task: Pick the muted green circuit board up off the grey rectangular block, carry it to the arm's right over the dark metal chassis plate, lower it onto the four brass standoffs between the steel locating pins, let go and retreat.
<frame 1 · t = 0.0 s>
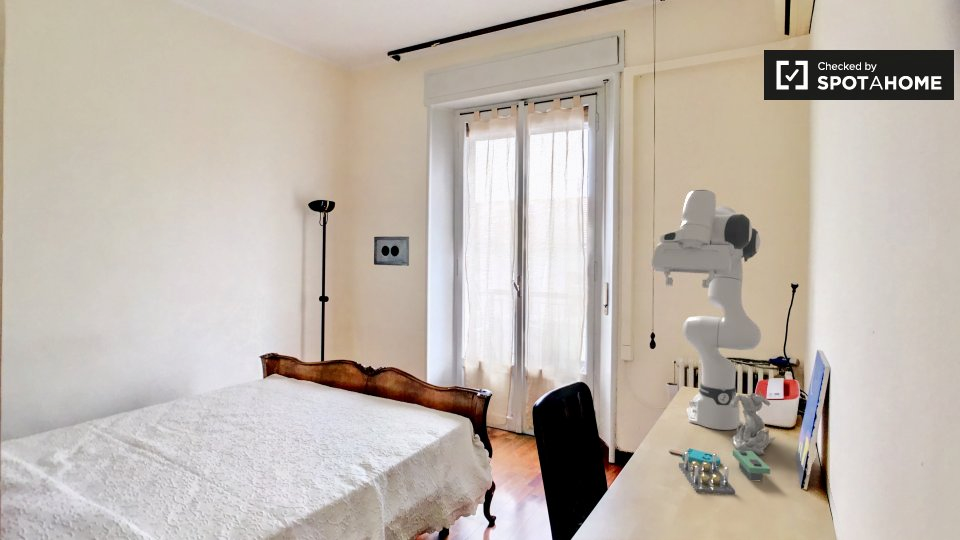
hand: (686, 285, 142), 54 cm above the table, tool tilted 30°, fingers open, 8 cm apart
toy: (693, 460, 161), on the table
board: (750, 464, 150), point 3 cm above the table, touching grey rectangular block
grey rectangular block: (750, 474, 150), on the table
chassis: (705, 479, 146), on the table
figurine: (751, 447, 170), on the table
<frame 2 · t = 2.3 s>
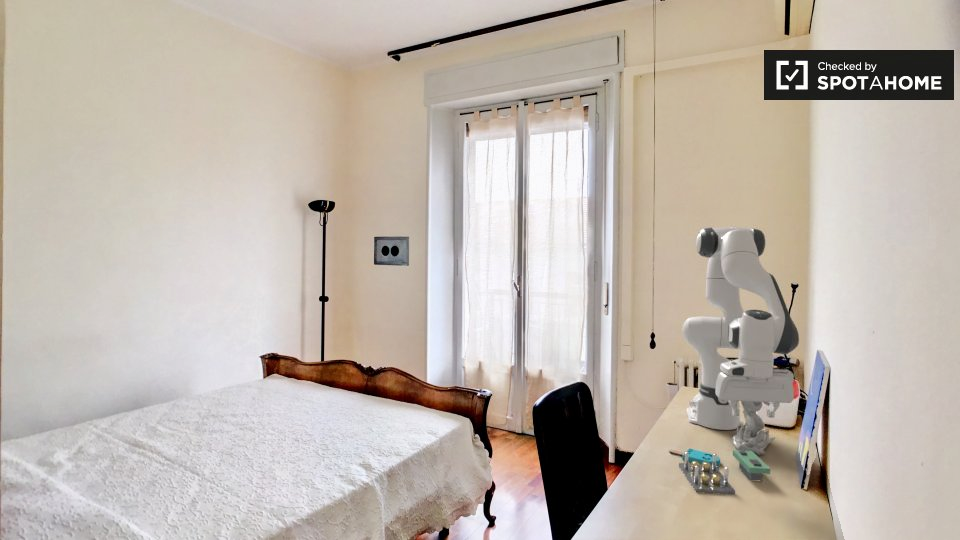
hand: (752, 416, 149), 17 cm above the table, tool pointing down, fingers open, 8 cm apart
nothing on the table moved.
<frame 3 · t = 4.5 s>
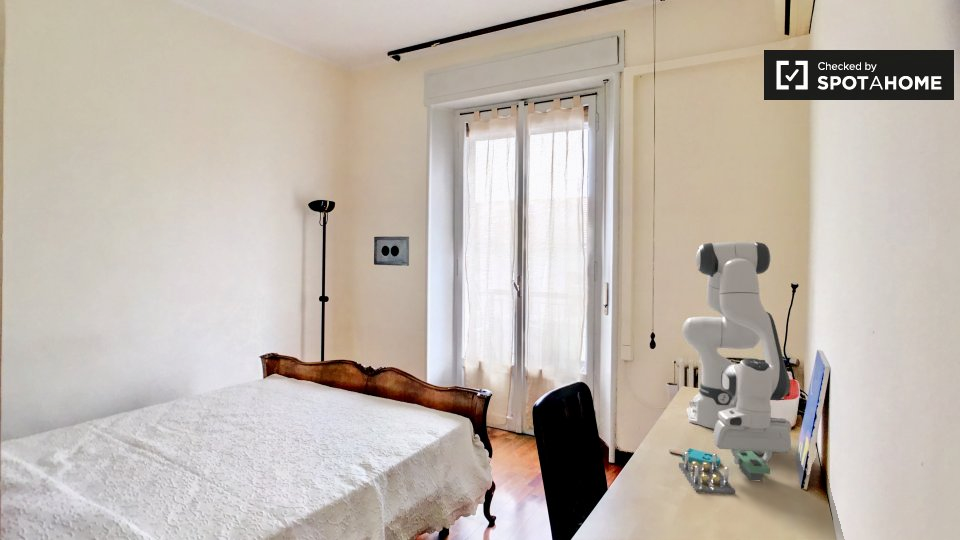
hand: (750, 464, 150), 3 cm above the table, tool pointing down, fingers closed on board, 5 cm apart
board: (750, 464, 150), point 3 cm above the table, touching grey rectangular block, gripper
everything else where it was.
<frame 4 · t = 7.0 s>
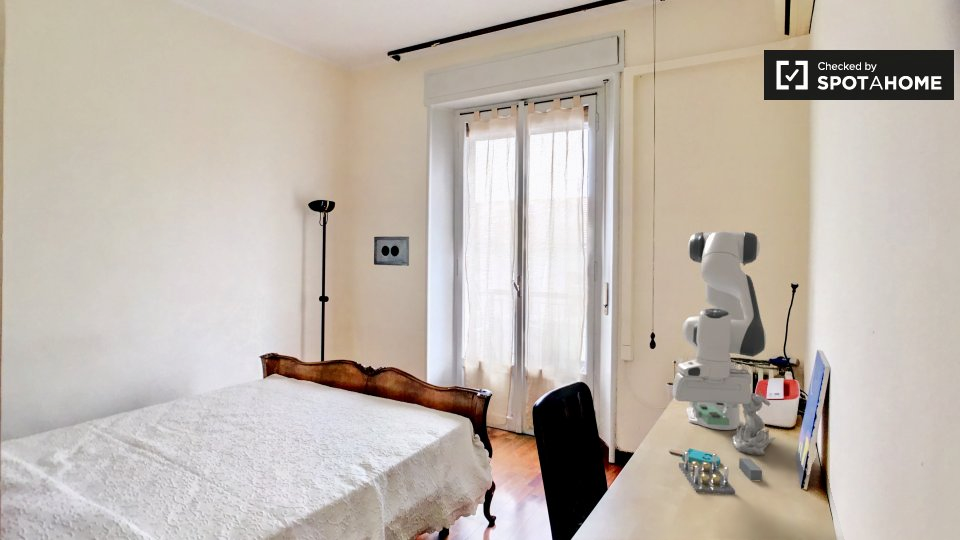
hand: (710, 417, 145), 18 cm above the table, tool pointing down, fingers closed on board, 5 cm apart
board: (710, 417, 145), point 18 cm above the table, touching gripper
everything else where it was.
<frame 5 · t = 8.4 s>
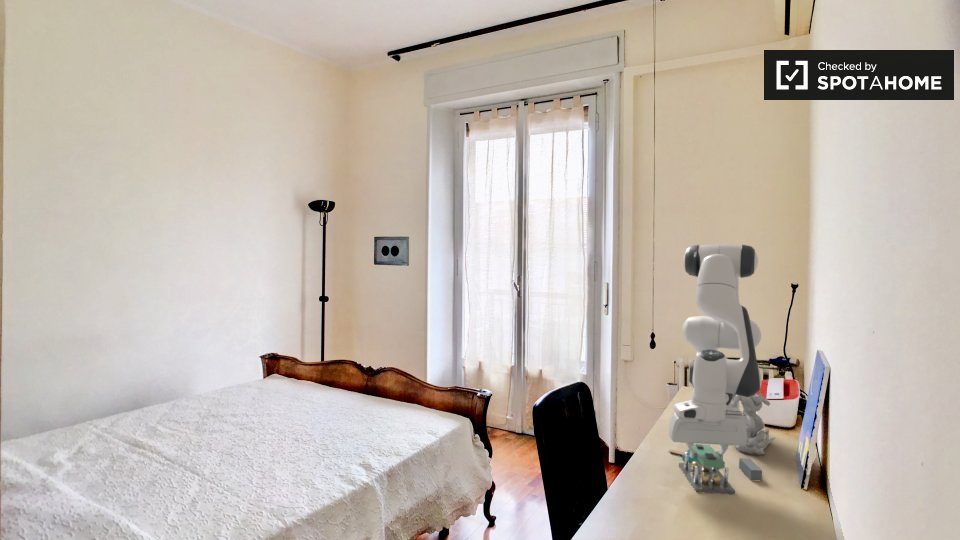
hand: (706, 458, 146), 6 cm above the table, tool pointing down, fingers closed on board, 5 cm apart
board: (706, 458, 146), point 6 cm above the table, touching gripper
everything else where it was.
when the fingers open (4 cm above the table, at t = 9.6 s): board stays where it is, resting on chassis.
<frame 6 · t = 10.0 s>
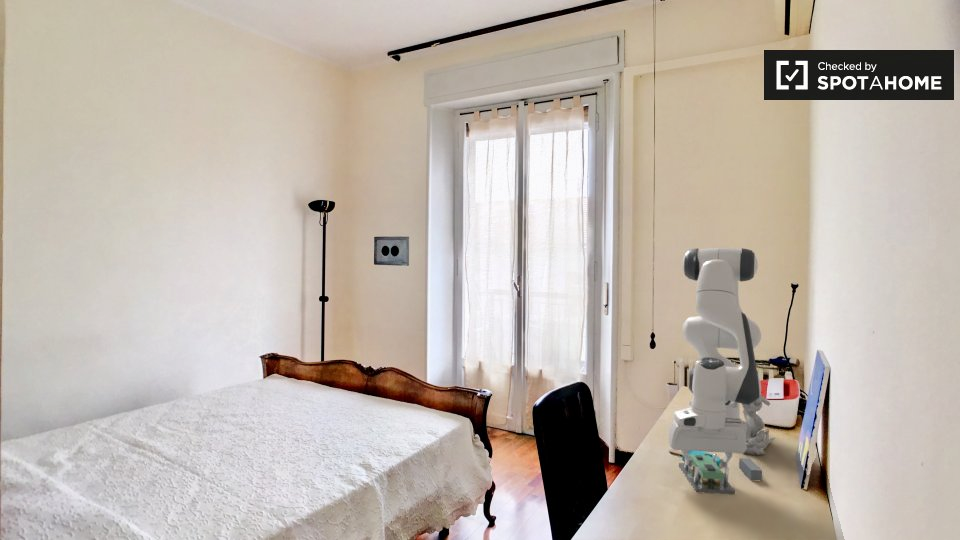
hand: (705, 465, 146), 4 cm above the table, tool pointing down, fingers open, 8 cm apart
board: (705, 469, 146), point 3 cm above the table, touching chassis
everything else where it was.
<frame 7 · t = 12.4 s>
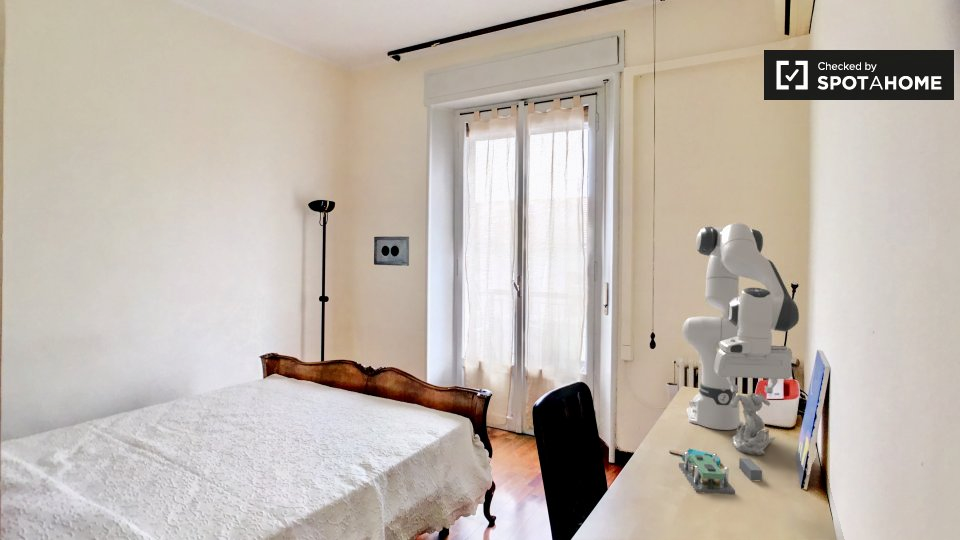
hand: (751, 392, 151), 23 cm above the table, tool pointing down, fingers open, 8 cm apart
nothing on the table moved.
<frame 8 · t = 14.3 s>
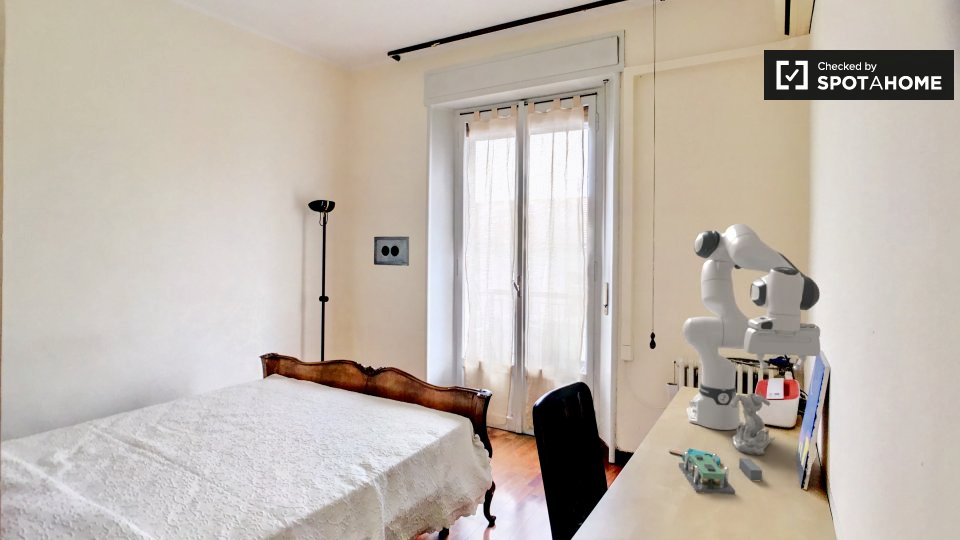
hand: (780, 369, 154), 29 cm above the table, tool pointing down, fingers open, 8 cm apart
nothing on the table moved.
at the end: board 0.0 cm off-centre on the chassis, point 3.0 cm above the chassis's base; board tilted 0°; the gripper is holding nothing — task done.
